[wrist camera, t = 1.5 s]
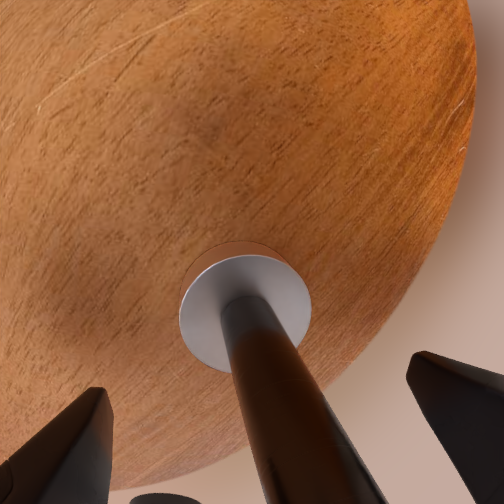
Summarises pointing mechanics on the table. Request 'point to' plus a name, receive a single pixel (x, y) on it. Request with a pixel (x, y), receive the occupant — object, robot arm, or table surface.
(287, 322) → the paper towel holder
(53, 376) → the table surface
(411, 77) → the table surface
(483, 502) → the robot arm
